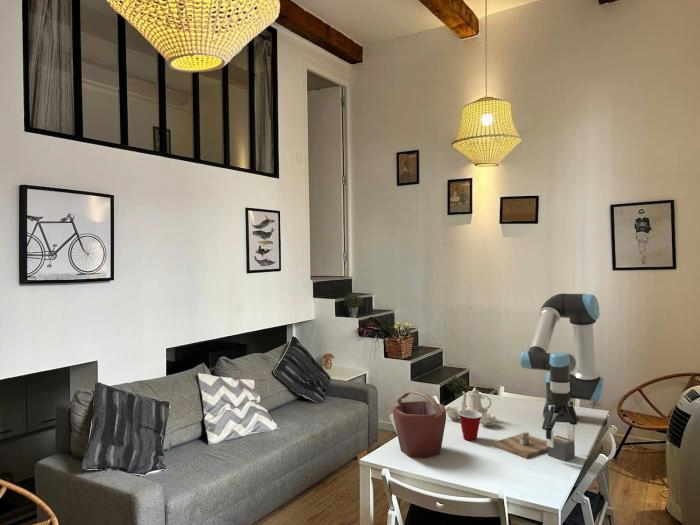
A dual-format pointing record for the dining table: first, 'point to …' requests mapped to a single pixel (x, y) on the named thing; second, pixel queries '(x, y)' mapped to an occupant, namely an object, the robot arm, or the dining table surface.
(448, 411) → the chinaware
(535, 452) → the hub base
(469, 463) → the dining table surface
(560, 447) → the grey box
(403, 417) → the bucket
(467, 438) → the plastic cup
